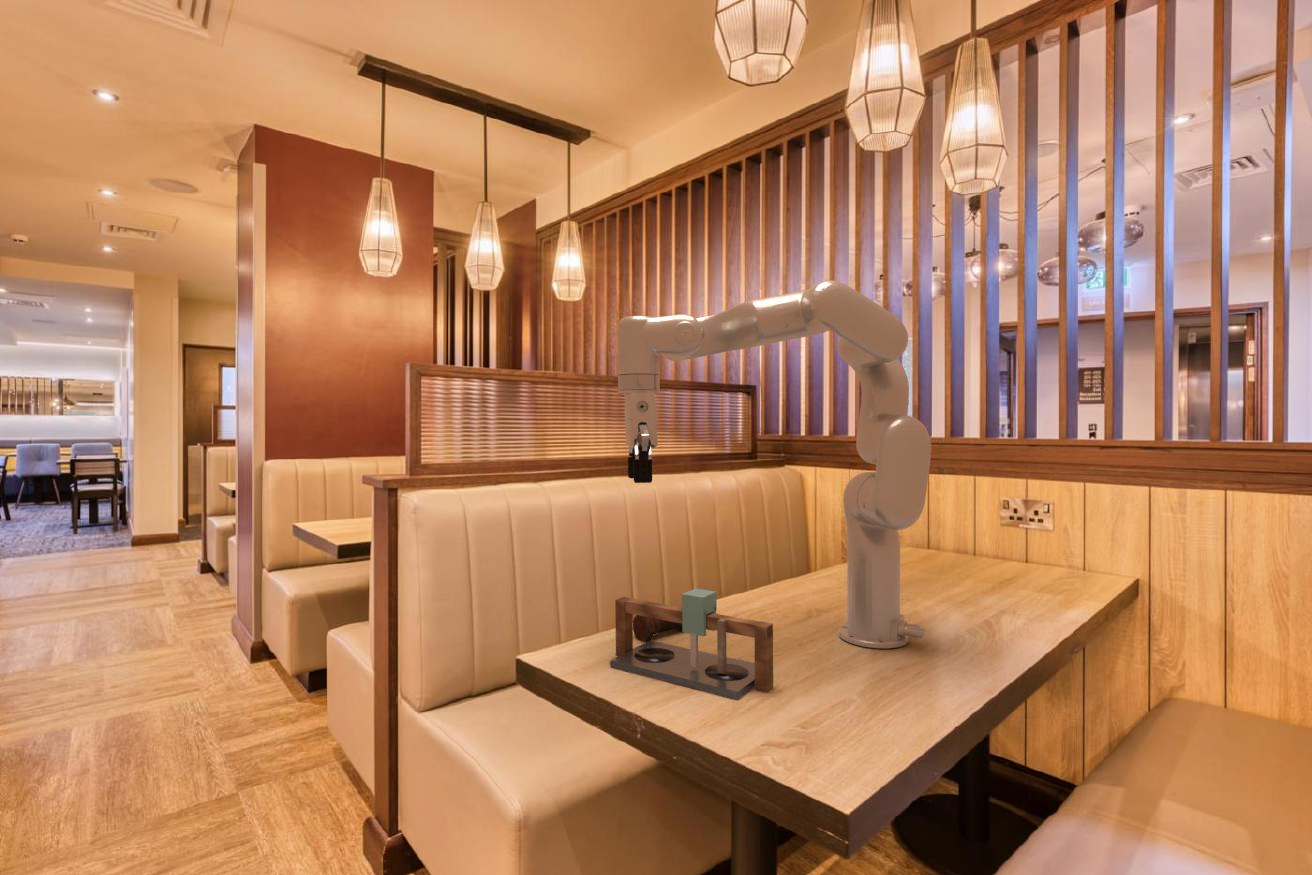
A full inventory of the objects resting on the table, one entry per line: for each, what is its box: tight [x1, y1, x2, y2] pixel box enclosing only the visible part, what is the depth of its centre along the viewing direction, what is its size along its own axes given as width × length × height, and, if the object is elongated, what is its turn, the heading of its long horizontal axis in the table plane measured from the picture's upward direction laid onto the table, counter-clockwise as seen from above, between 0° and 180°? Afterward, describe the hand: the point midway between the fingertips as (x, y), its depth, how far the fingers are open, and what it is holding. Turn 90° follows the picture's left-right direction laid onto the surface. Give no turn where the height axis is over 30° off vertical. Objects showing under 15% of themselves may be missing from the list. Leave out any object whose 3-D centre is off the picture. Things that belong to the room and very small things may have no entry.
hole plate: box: [609, 640, 755, 701], centre depth 109 cm, size 24×12×1 cm, turn 56°
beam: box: [614, 596, 774, 693], centre depth 108 cm, size 29×3×10 cm, turn 56°
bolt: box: [633, 606, 683, 643], centre depth 129 cm, size 6×5×15 cm
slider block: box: [681, 587, 718, 667], centre depth 108 cm, size 4×4×12 cm
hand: (639, 480), depth 118 cm, fingers open, 9 cm apart
